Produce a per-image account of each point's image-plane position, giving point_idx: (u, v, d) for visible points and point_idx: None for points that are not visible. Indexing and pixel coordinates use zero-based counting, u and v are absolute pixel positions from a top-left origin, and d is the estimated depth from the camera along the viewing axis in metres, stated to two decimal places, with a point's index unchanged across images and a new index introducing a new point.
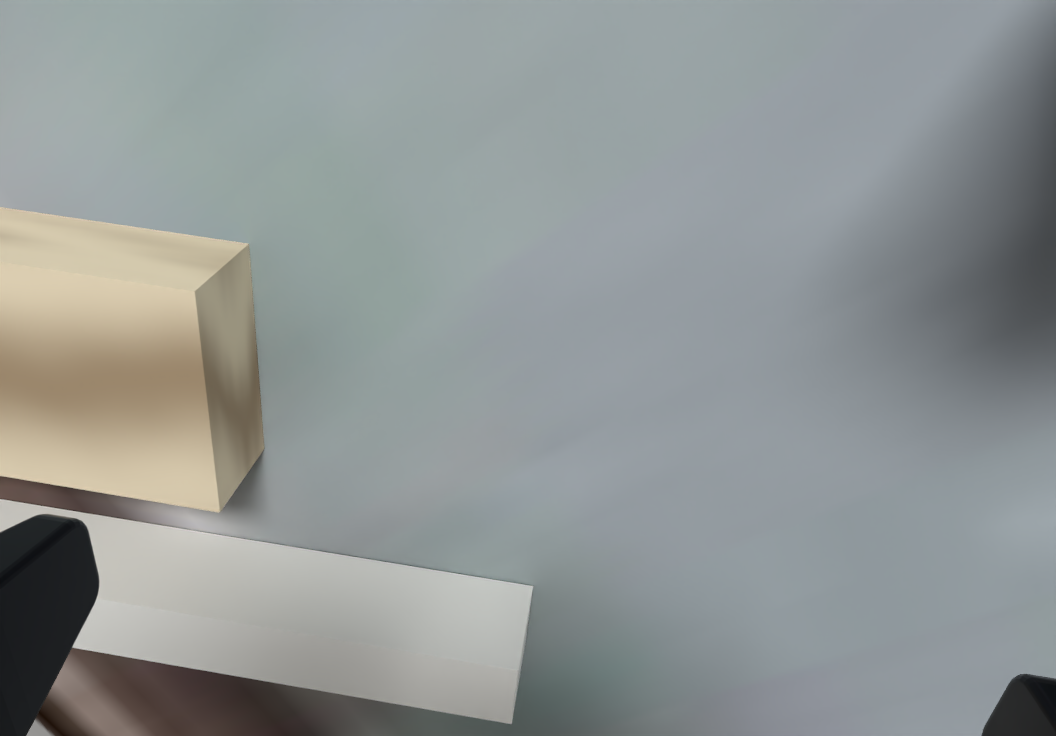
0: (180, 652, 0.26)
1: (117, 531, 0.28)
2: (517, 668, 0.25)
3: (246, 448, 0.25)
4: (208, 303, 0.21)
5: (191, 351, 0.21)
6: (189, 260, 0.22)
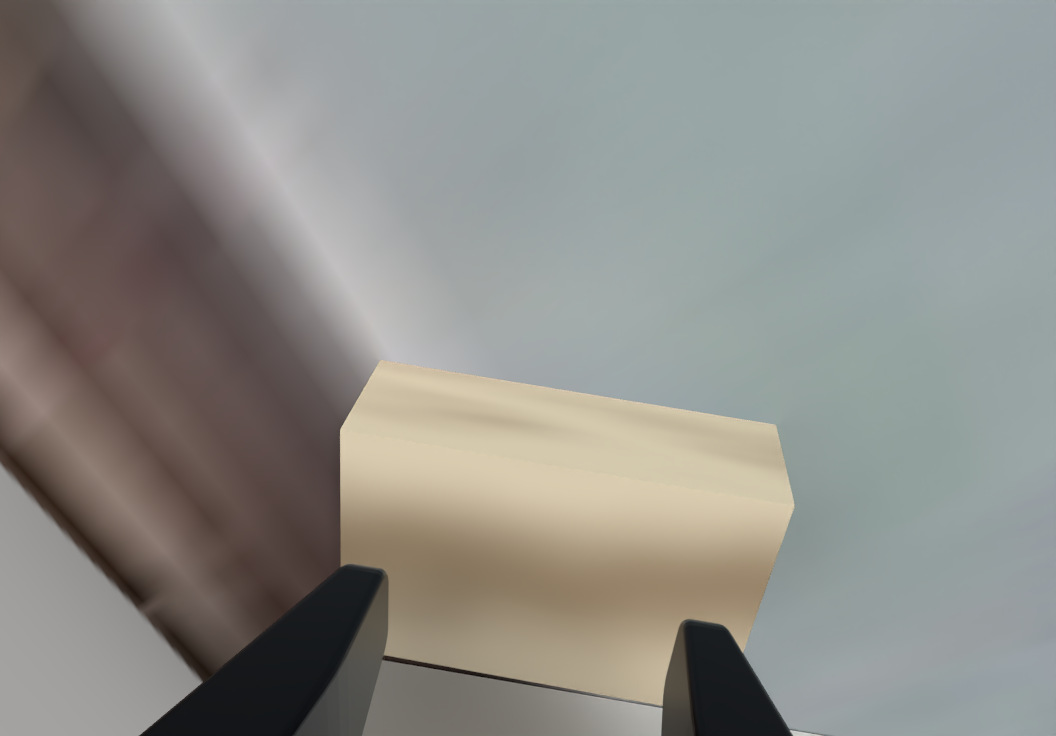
0: None
1: (522, 700, 0.26)
2: None
3: None
4: None
5: (761, 564, 0.19)
6: (744, 455, 0.19)
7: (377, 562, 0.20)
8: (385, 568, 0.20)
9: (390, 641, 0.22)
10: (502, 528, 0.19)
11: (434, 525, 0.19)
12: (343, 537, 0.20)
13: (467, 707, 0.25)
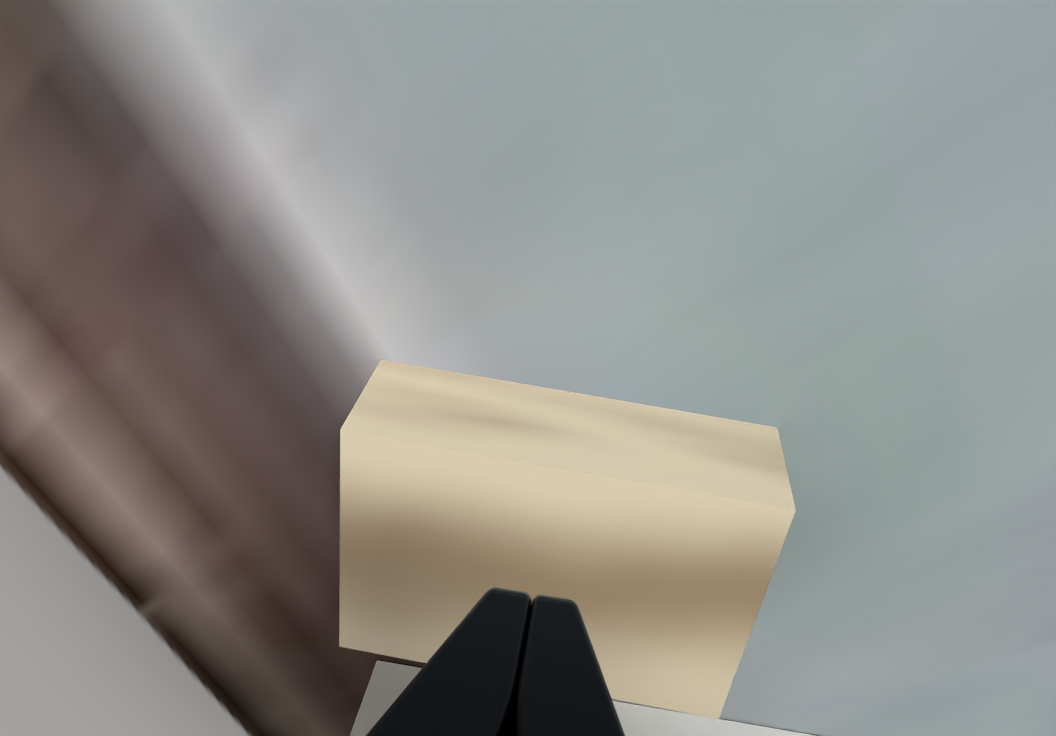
0: None
1: None
2: None
3: None
4: None
5: (761, 567, 0.19)
6: (745, 459, 0.19)
7: (376, 562, 0.20)
8: (384, 568, 0.20)
9: (388, 641, 0.22)
10: (502, 530, 0.19)
11: (434, 526, 0.19)
12: (342, 537, 0.20)
13: None
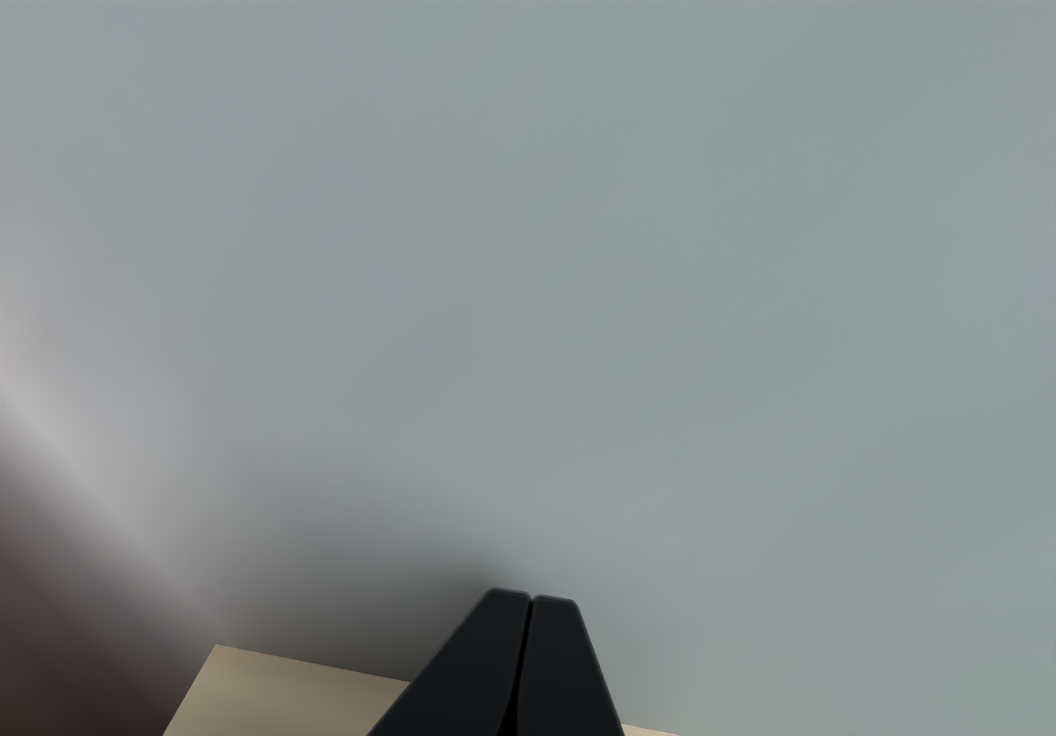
0: None
1: None
2: None
3: None
4: None
5: None
6: None
7: None
8: None
9: None
10: None
11: None
12: None
13: None
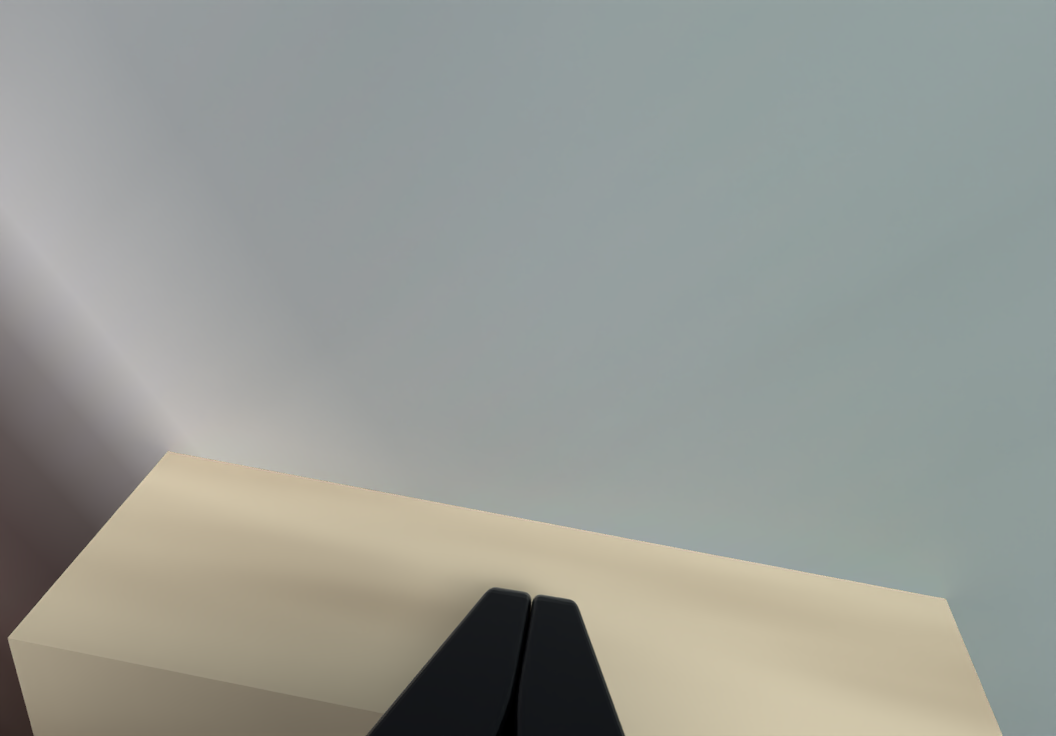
0: None
1: None
2: None
3: None
4: None
5: None
6: (903, 686, 0.09)
7: None
8: None
9: None
10: None
11: None
12: None
13: None
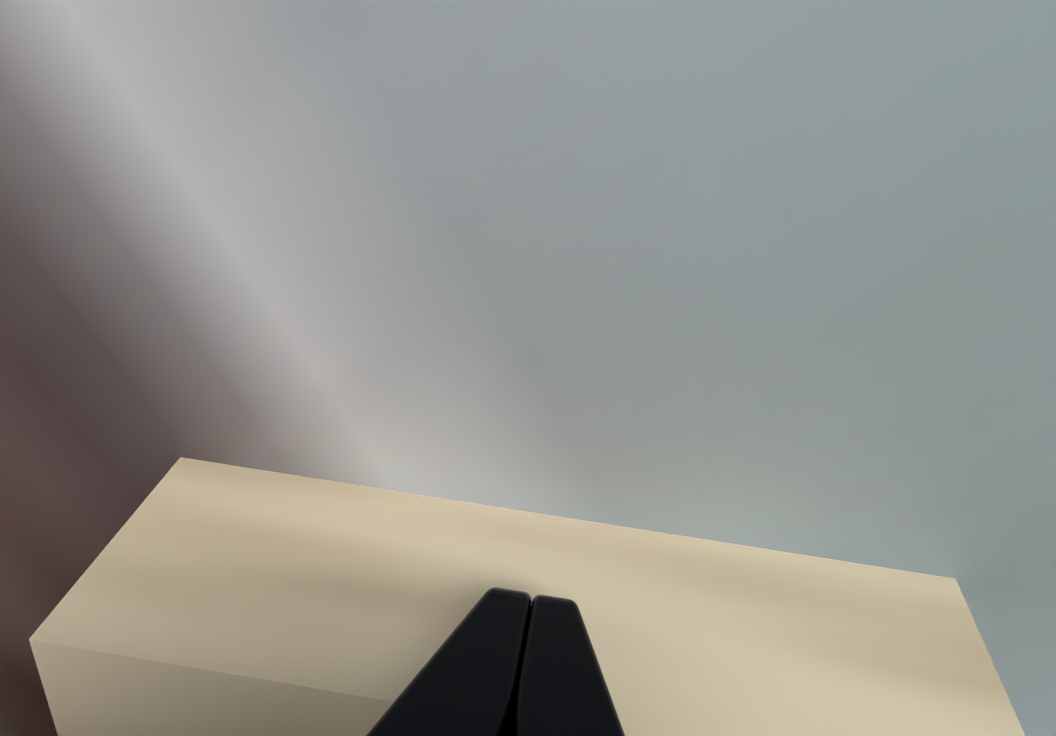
0: None
1: None
2: None
3: None
4: None
5: None
6: (913, 662, 0.09)
7: None
8: None
9: None
10: None
11: None
12: None
13: None
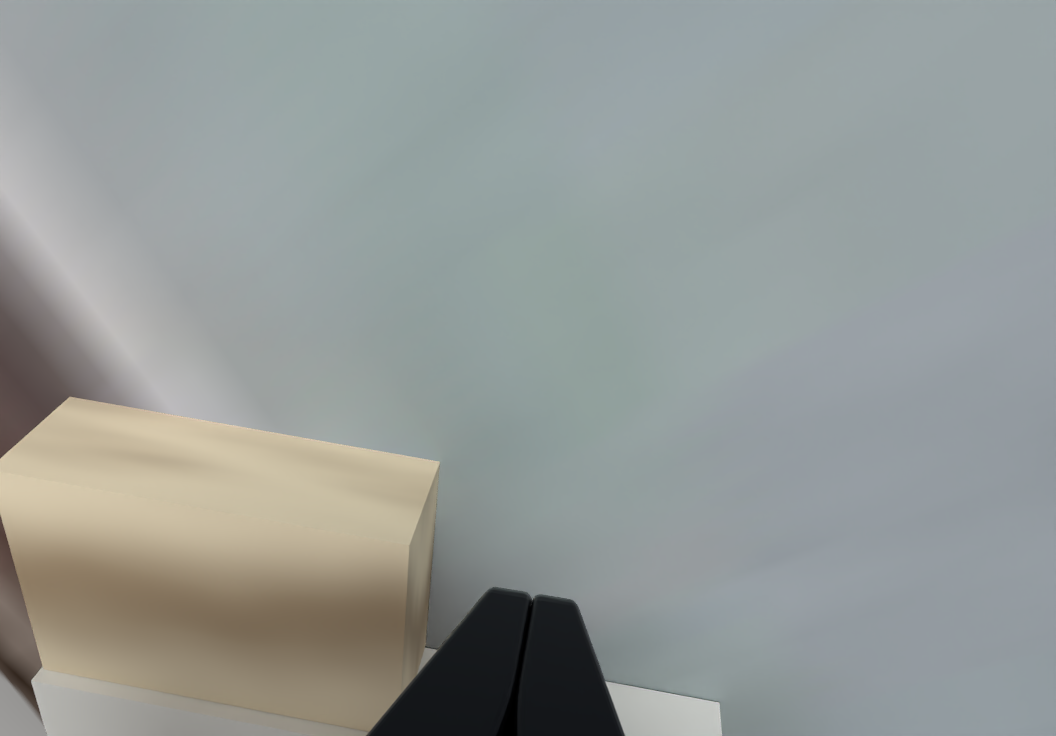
0: None
1: None
2: None
3: (417, 657, 0.24)
4: (414, 547, 0.20)
5: (395, 597, 0.20)
6: (388, 493, 0.20)
7: (54, 591, 0.21)
8: (63, 597, 0.21)
9: (85, 664, 0.23)
10: (157, 562, 0.20)
11: (96, 558, 0.20)
12: (18, 568, 0.21)
13: None
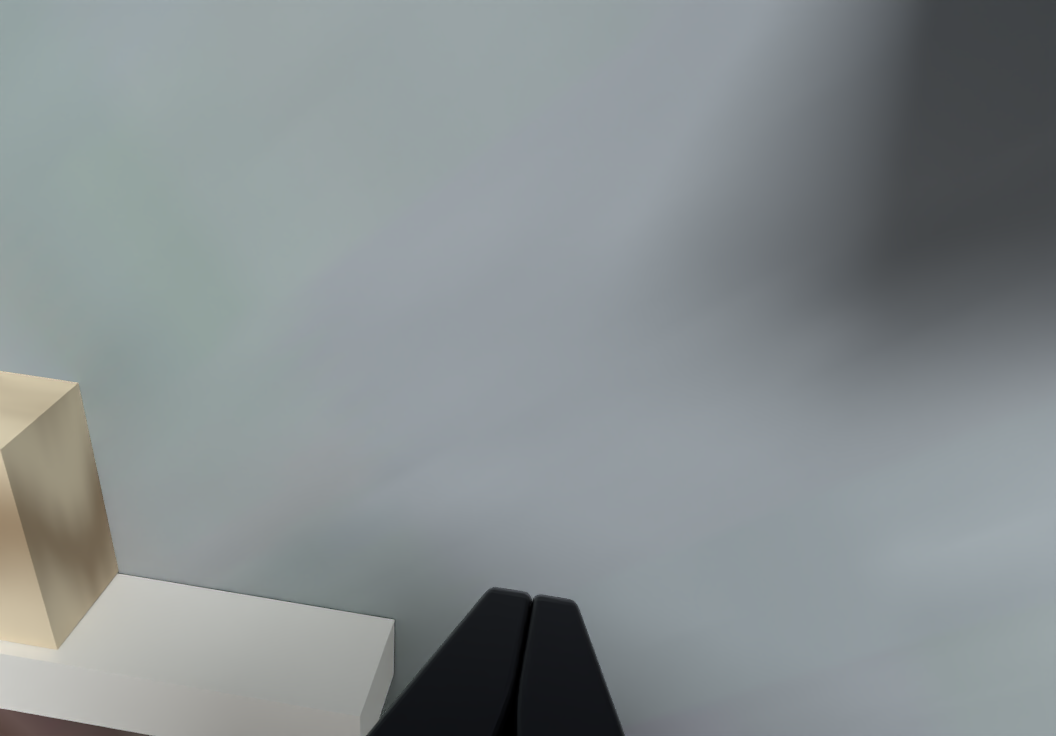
0: (2, 694, 0.24)
1: None
2: (359, 714, 0.23)
3: (91, 578, 0.25)
4: (22, 455, 0.21)
5: (6, 504, 0.21)
6: (7, 408, 0.21)
7: None
8: None
9: None
10: None
11: None
12: None
13: None
